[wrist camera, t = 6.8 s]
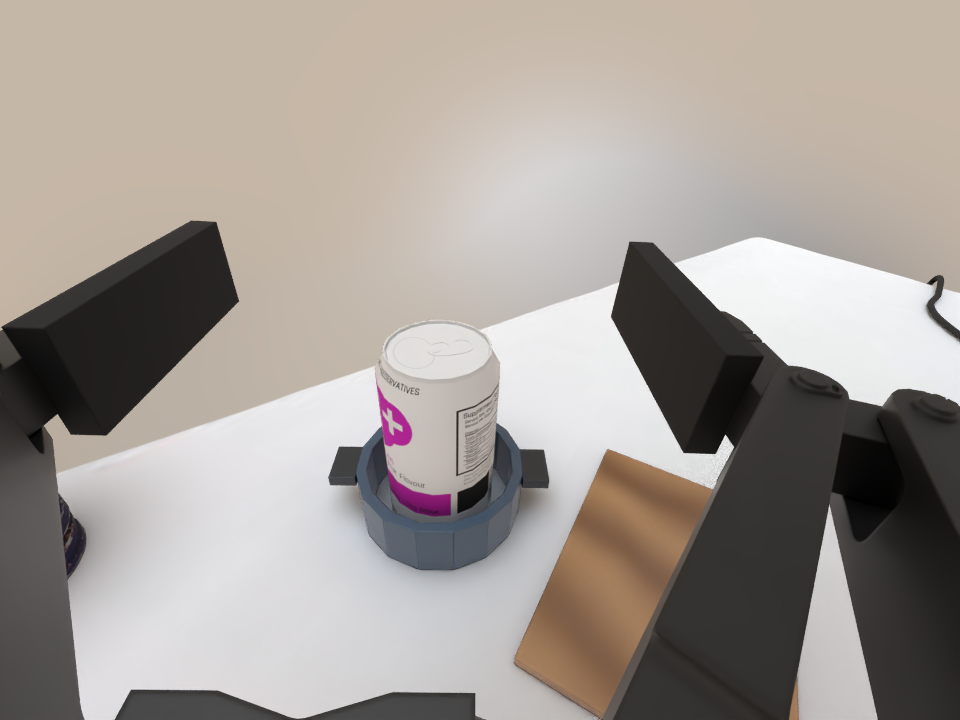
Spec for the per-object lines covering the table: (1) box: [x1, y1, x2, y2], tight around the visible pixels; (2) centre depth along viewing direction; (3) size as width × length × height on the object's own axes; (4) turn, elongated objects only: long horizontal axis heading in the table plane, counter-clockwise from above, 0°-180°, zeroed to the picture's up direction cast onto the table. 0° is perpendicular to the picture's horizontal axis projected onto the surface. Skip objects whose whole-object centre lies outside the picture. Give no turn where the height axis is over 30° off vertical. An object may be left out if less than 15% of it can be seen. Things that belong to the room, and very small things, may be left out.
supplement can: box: [375, 320, 500, 523], centre depth 32 cm, size 8×8×15 cm
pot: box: [328, 423, 549, 570], centre depth 35 cm, size 13×17×4 cm
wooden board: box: [514, 449, 799, 720], centre depth 31 cm, size 20×15×1 cm
